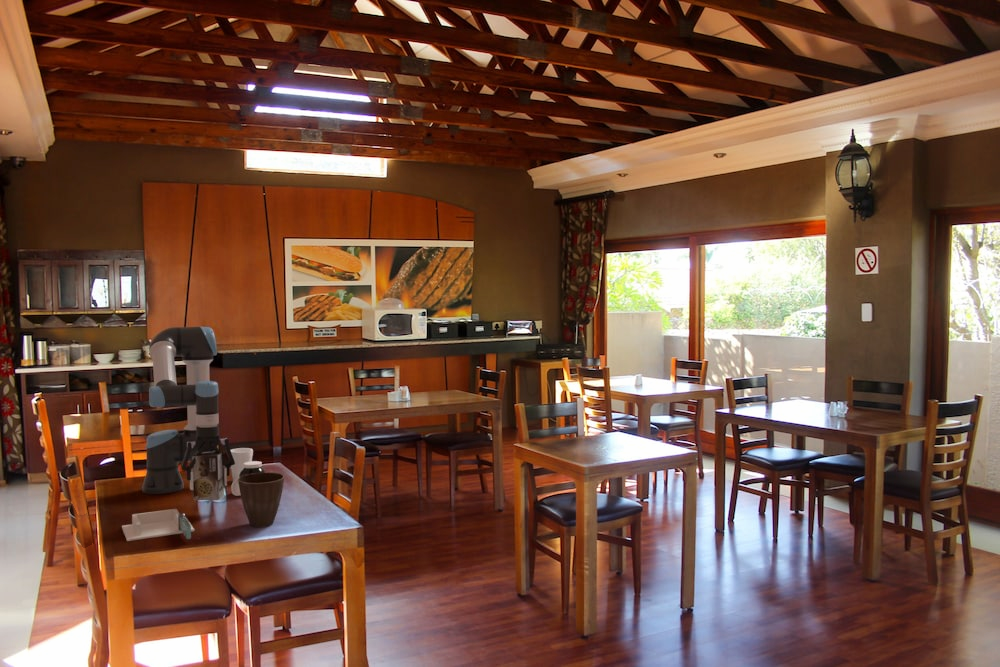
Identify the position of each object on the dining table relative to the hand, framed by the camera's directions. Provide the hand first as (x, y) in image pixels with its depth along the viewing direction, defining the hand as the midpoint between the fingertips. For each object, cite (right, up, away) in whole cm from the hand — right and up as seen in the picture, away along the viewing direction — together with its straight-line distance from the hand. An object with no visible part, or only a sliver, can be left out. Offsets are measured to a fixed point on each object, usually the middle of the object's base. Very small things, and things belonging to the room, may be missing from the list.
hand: (208, 487), depth 272 cm
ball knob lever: (+2, -10, -26) cm, 28 cm away
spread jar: (+5, -8, +29) cm, 30 cm away
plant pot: (+23, -10, -12) cm, 28 cm away
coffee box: (0, -4, 0) cm, 4 cm away
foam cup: (-5, -7, +49) cm, 49 cm away
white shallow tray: (-10, -10, -18) cm, 23 cm away
